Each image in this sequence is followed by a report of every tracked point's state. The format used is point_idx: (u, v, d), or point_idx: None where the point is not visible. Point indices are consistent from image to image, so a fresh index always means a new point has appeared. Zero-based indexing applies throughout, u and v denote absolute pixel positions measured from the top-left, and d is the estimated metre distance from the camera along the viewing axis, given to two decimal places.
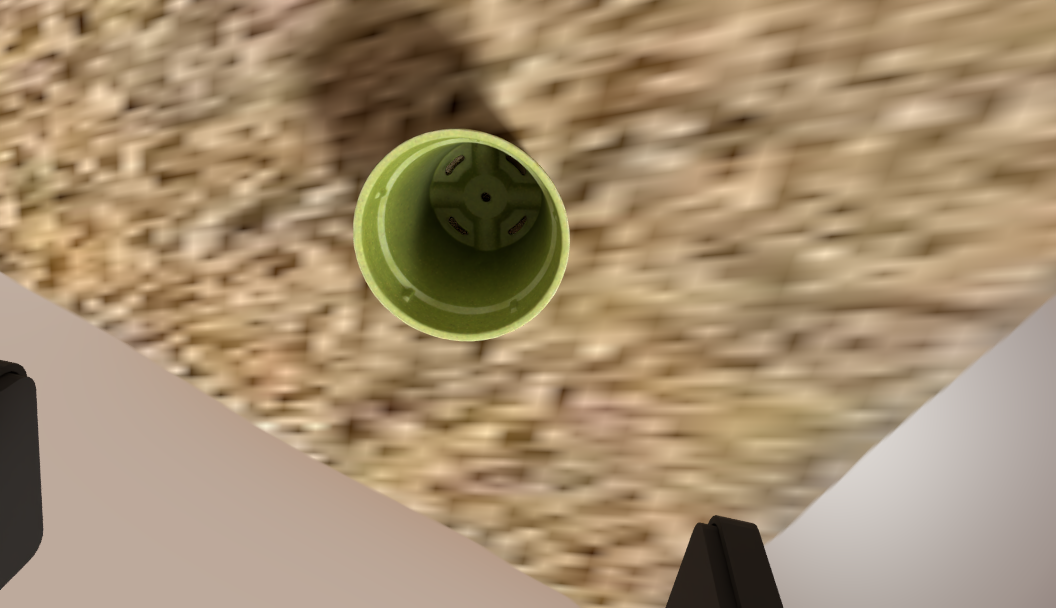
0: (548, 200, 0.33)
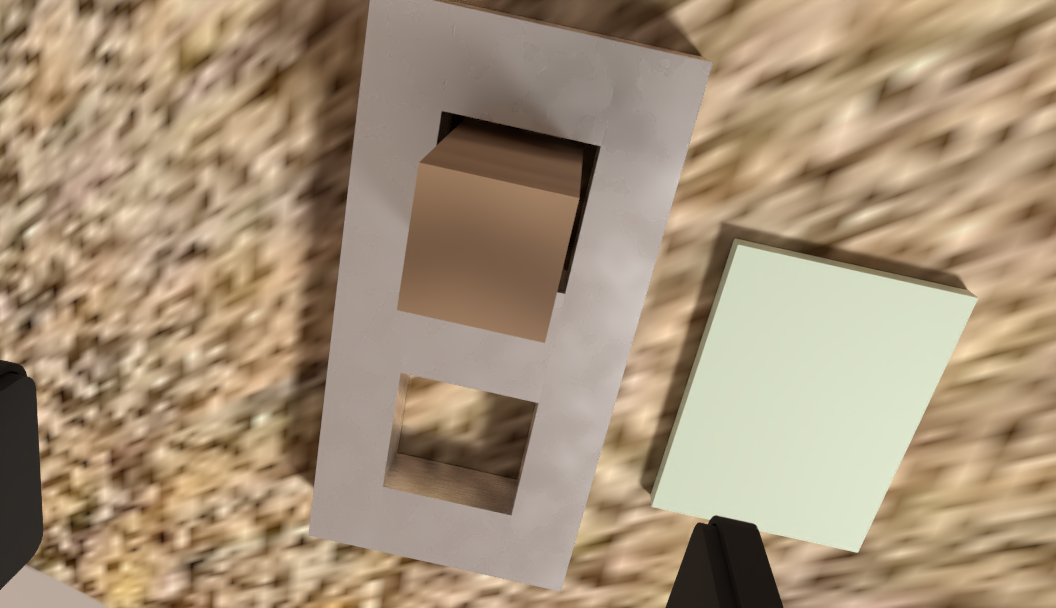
0: None
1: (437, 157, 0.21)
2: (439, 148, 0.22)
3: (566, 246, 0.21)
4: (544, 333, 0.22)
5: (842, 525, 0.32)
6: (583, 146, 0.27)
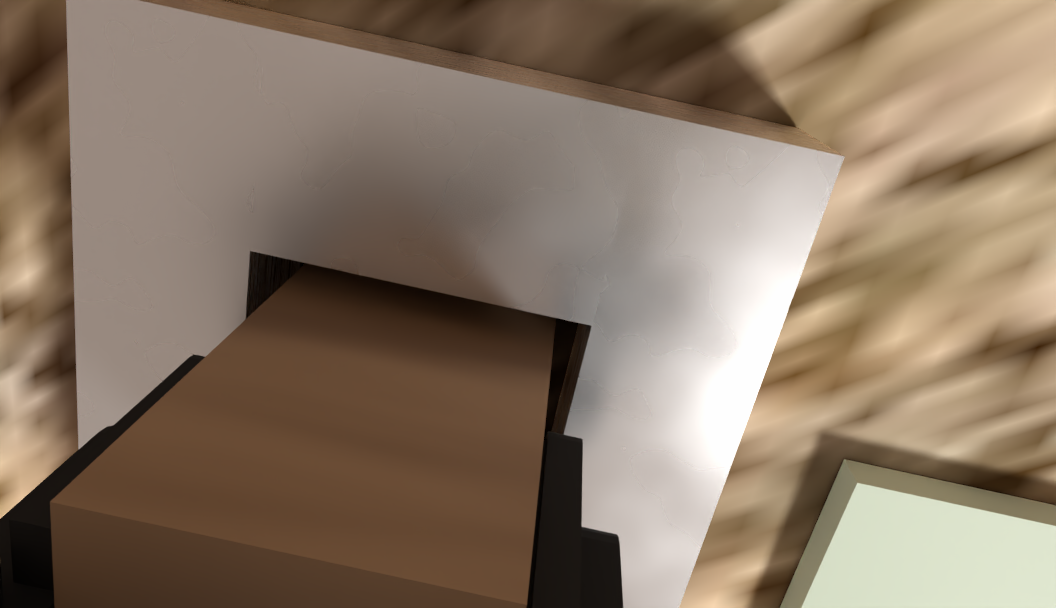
0: None
1: (144, 447, 0.08)
2: (182, 392, 0.09)
3: None
4: None
5: None
6: None
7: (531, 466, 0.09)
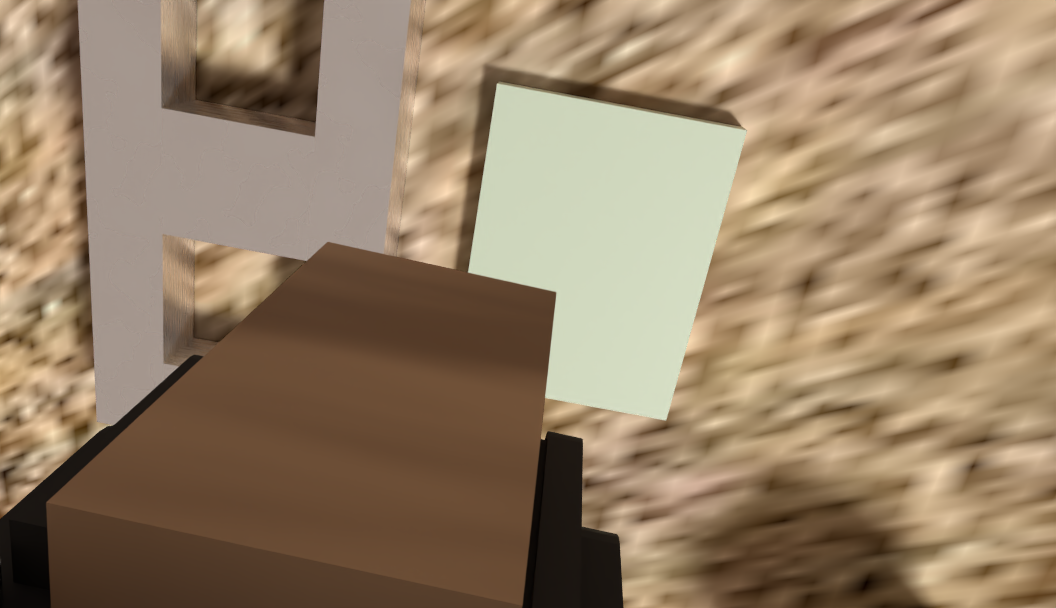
0: None
1: (141, 448, 0.08)
2: (179, 393, 0.09)
3: None
4: None
5: (645, 390, 0.31)
6: (555, 301, 0.14)
7: (528, 467, 0.09)
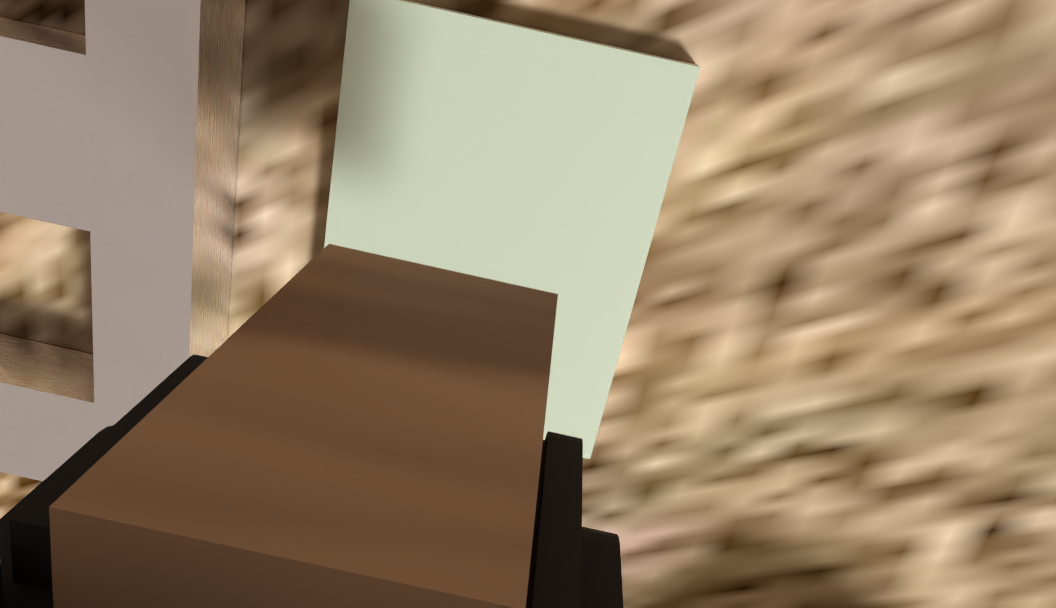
0: None
1: (143, 452, 0.08)
2: (181, 396, 0.09)
3: None
4: None
5: (563, 419, 0.23)
6: (556, 303, 0.14)
7: (530, 470, 0.09)
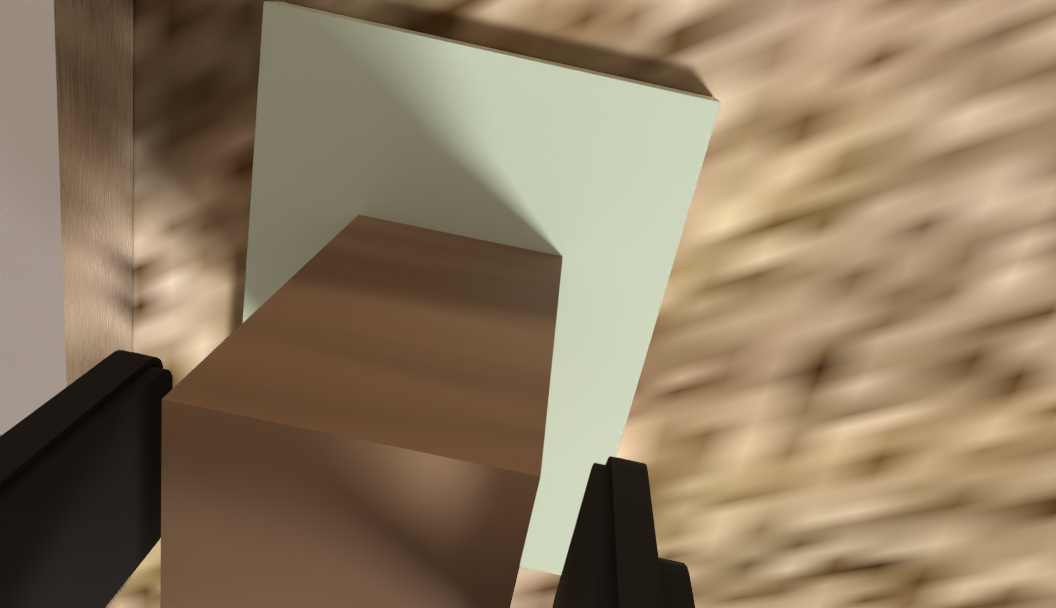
0: None
1: (227, 364, 0.10)
2: (251, 326, 0.11)
3: (515, 570, 0.09)
4: None
5: (546, 533, 0.19)
6: (561, 264, 0.16)
7: (541, 385, 0.11)
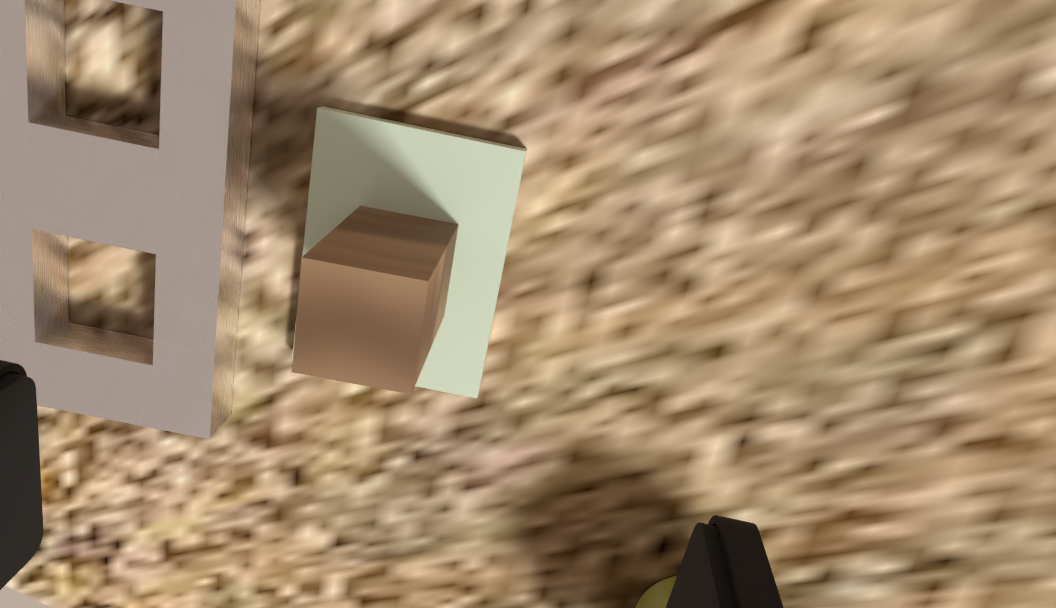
0: None
1: (319, 250, 0.27)
2: (324, 241, 0.28)
3: (421, 318, 0.27)
4: (410, 386, 0.28)
5: (458, 372, 0.36)
6: (457, 227, 0.33)
7: (435, 262, 0.28)
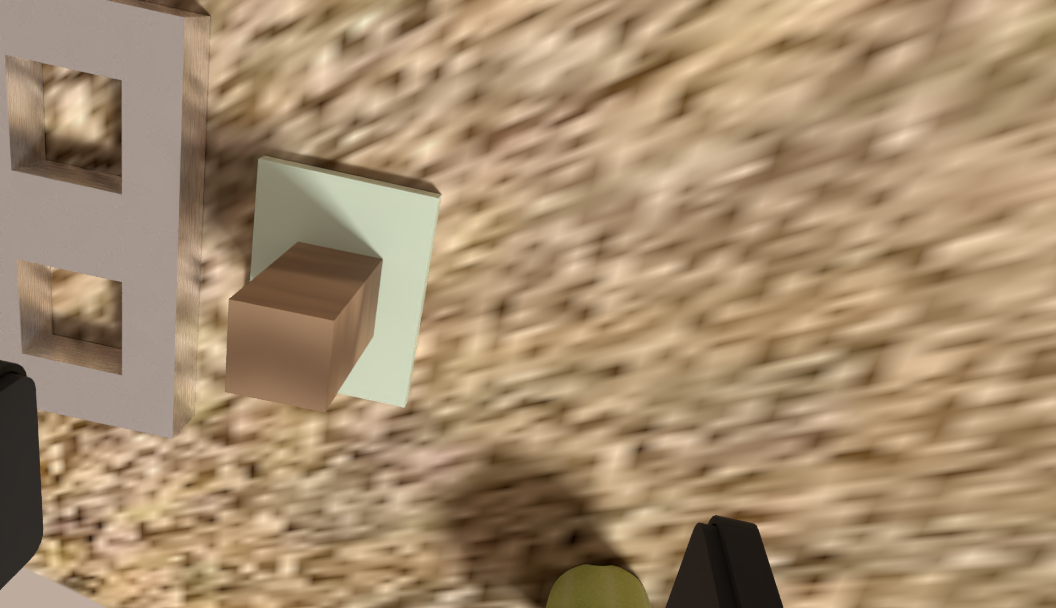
0: None
1: (246, 292, 0.32)
2: (253, 282, 0.33)
3: (330, 350, 0.32)
4: (323, 406, 0.33)
5: (387, 384, 0.41)
6: (380, 262, 0.38)
7: (347, 300, 0.33)
